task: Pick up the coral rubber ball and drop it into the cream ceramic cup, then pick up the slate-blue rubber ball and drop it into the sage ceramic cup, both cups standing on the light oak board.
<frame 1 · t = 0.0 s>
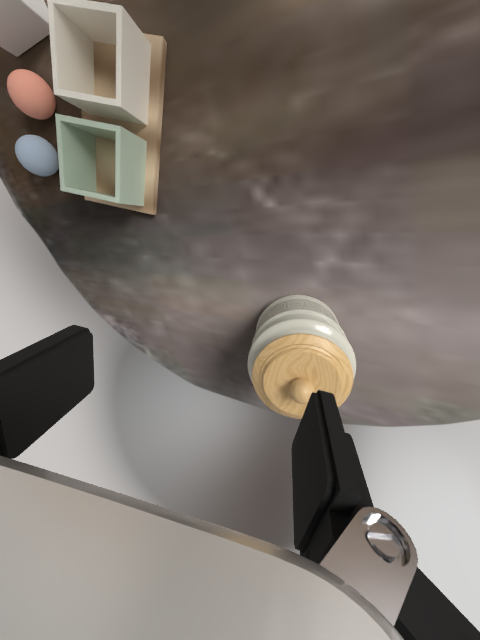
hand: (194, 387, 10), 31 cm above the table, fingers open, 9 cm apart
milk carton: (24, 12, 33), on the table
slate ball: (53, 160, 39), on the table
sage cup: (118, 169, 36), resting on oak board
cream cup: (119, 81, 33), resting on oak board
coral ball: (48, 103, 36), on the table
jar: (296, 330, 42), on the table
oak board: (124, 130, 36), on the table
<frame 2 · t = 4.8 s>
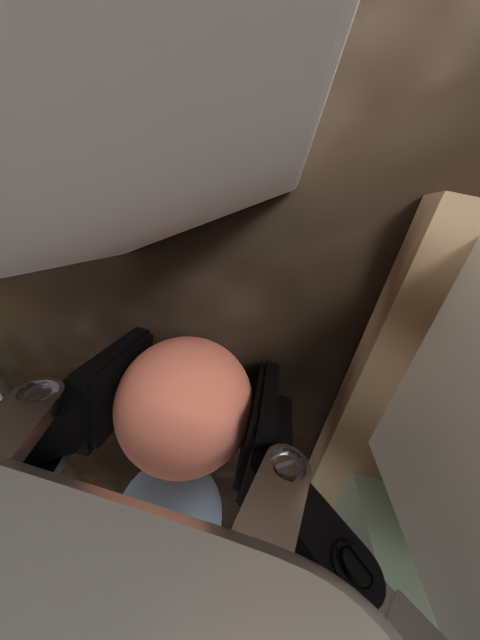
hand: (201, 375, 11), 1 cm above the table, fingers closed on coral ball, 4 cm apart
milk carton: (169, 120, 9), on the table
slate ball: (188, 469, 15), on the table
sage cup: (406, 553, 12), resting on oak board
coral ball: (205, 367, 12), on the table, touching gripper
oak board: (443, 460, 12), on the table
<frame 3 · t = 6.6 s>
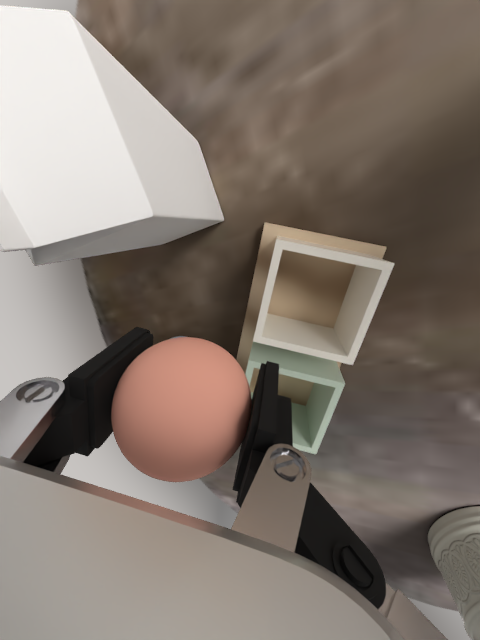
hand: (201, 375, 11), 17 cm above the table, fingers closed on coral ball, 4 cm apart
milk carton: (180, 196, 25), on the table
sage cup: (283, 373, 28), resting on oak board
cream cup: (308, 287, 25), resting on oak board
coral ball: (204, 368, 12), point 16 cm above the table, touching gripper
jar: (477, 534, 34), on the table
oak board: (294, 329, 28), on the table
when the fingers open (9 cm above the table, at t = 8.6 s): coral ball drops 8 cm, resting on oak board.
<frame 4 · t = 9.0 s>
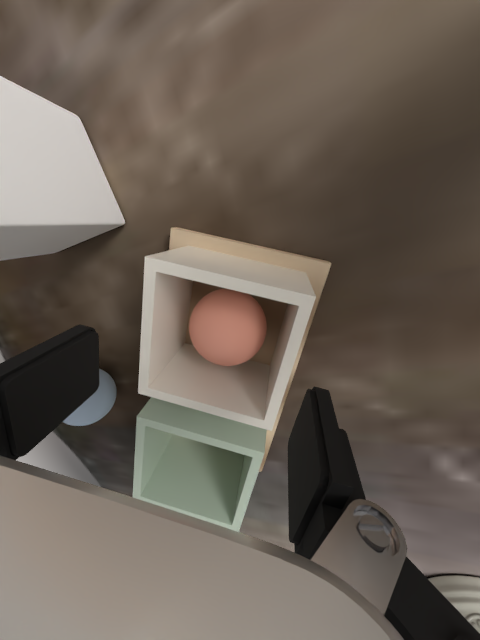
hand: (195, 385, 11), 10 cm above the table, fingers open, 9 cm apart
milk carton: (69, 192, 19), on the table
slate ball: (103, 379, 25), on the table
sage cup: (214, 416, 23), resting on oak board
cream cup: (235, 313, 19), resting on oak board
coral ball: (235, 314, 19), point 1 cm above the table, touching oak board
jar: (458, 604, 28), on the table
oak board: (226, 362, 22), on the table
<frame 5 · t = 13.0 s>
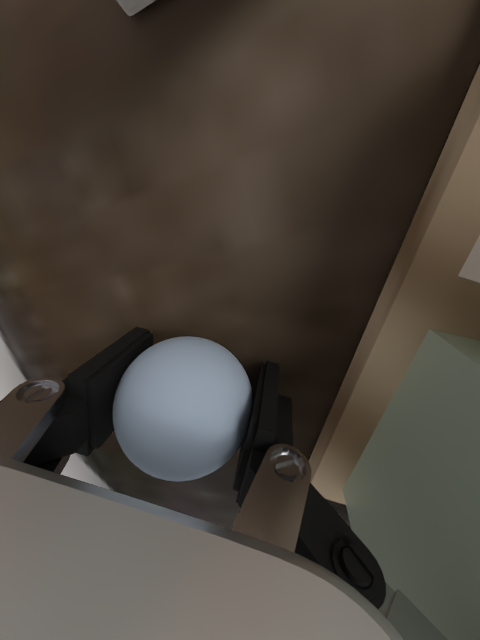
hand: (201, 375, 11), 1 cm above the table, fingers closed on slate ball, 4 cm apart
slate ball: (205, 367, 12), on the table, touching gripper
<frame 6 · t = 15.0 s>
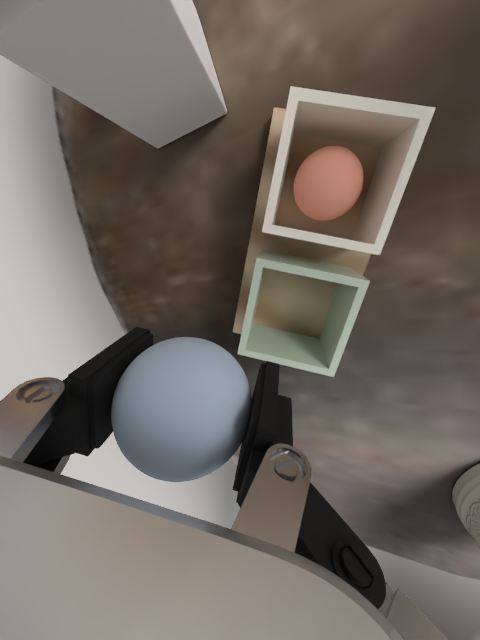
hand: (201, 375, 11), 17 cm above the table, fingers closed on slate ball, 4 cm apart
milk carton: (177, 88, 22), on the table
slate ball: (204, 368, 12), point 16 cm above the table, touching gripper
sage cup: (294, 299, 25), resting on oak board
cream cup: (324, 189, 22), resting on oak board
coral ball: (324, 189, 22), point 1 cm above the table, touching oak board
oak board: (307, 247, 25), on the table
when the fingers open (9 cm above the table, at t = 16.9 s): slate ball drops 8 cm, resting on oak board.
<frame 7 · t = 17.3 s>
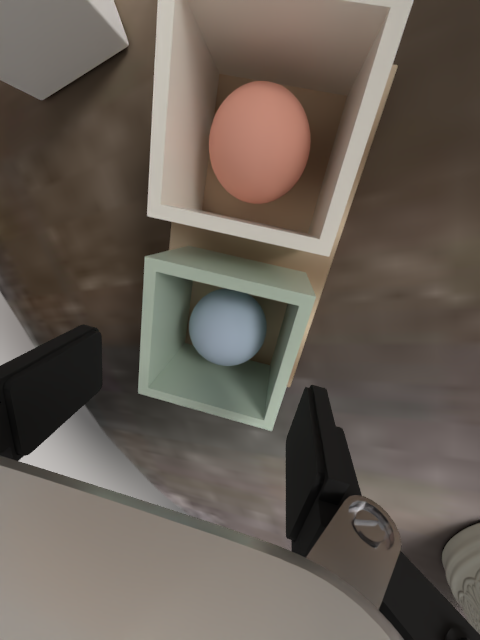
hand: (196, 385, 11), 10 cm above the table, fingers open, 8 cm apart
milk carton: (59, 9, 15), on the table
slate ball: (235, 314, 19), point 1 cm above the table, touching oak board
sage cup: (235, 313, 19), resting on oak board
cream cup: (266, 159, 15), resting on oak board
coral ball: (266, 159, 15), point 1 cm above the table, tilted 5°, touching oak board
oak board: (251, 243, 18), on the table
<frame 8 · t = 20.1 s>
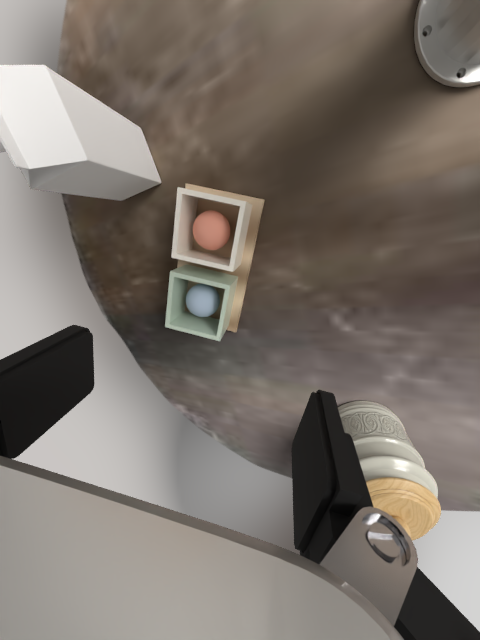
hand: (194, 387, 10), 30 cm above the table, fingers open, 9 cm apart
milk carton: (132, 166, 37), on the table
slate ball: (208, 295, 40), point 1 cm above the table, touching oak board
sage cup: (208, 295, 40), resting on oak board
cream cup: (218, 229, 36), resting on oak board
coral ball: (218, 229, 36), point 1 cm above the table, tilted 7°, touching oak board
jar: (360, 427, 46), on the table
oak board: (215, 263, 39), on the table
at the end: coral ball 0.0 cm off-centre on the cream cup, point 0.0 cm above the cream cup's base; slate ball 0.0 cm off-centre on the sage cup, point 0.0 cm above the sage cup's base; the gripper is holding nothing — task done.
